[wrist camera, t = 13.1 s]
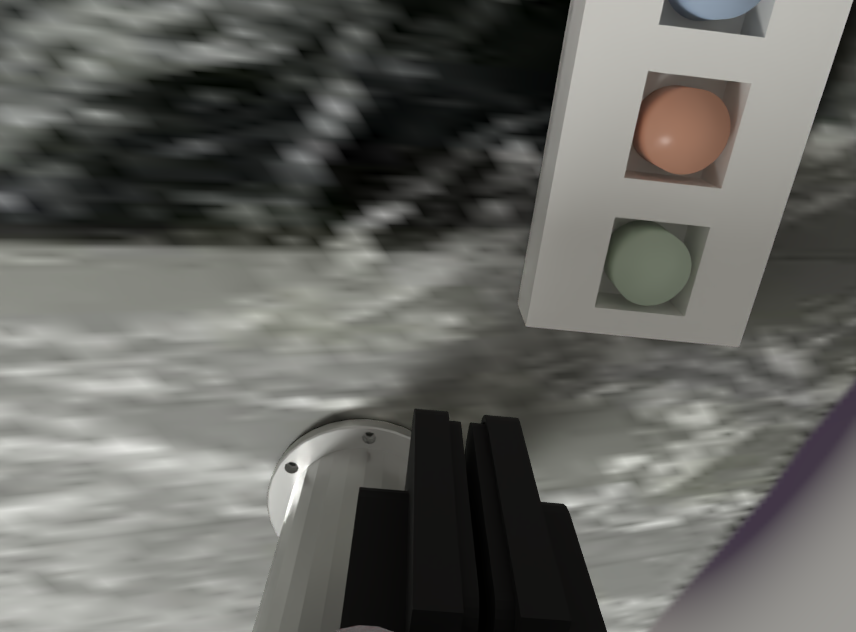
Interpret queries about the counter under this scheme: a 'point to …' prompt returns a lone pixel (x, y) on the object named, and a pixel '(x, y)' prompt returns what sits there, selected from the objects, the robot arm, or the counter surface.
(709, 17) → the button slate
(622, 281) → the button sage
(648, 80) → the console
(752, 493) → the counter surface
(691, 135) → the button terracotta
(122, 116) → the counter surface
